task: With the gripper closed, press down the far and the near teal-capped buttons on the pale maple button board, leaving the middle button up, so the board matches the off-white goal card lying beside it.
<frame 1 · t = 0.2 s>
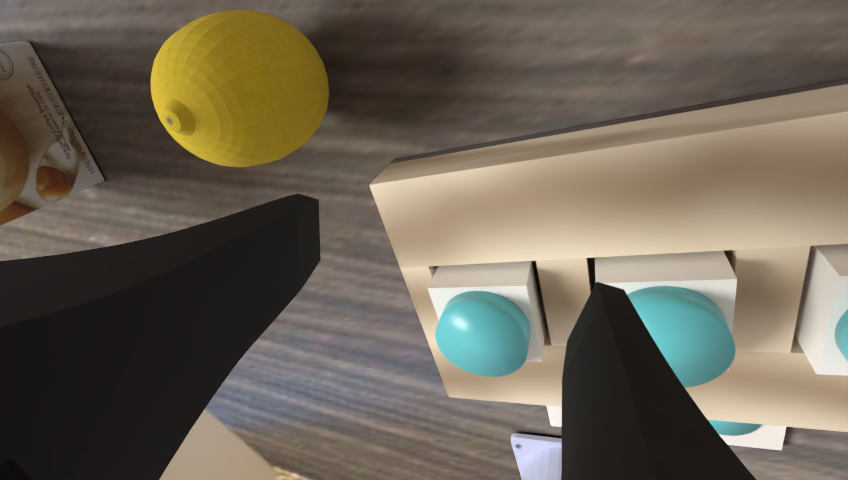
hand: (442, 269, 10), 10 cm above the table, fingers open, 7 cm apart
coffee box: (45, 116, 27), on the table
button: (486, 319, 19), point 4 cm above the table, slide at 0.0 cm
button board: (648, 262, 19), on the table
lemon: (307, 69, 19), on the table
goal card: (652, 403, 24), on the table
button mid: (661, 319, 16), point 4 cm above the table, slide at 0.0 cm
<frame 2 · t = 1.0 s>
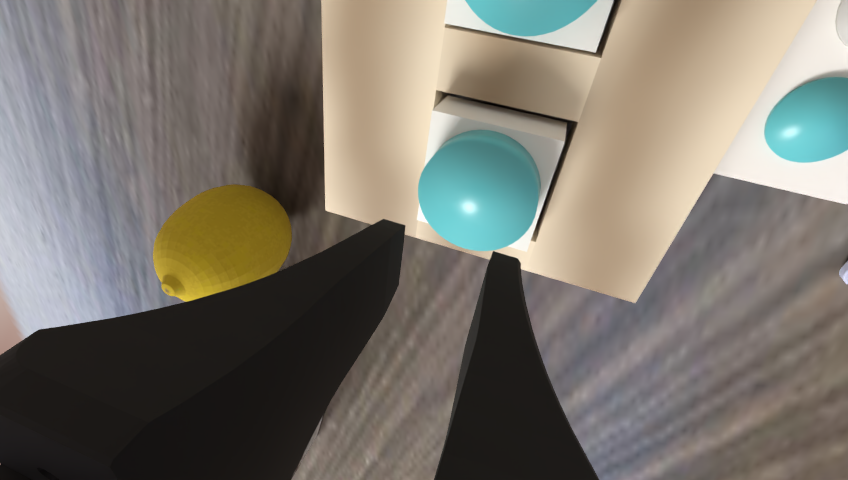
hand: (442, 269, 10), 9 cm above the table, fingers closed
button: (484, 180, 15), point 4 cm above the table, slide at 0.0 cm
lemon: (278, 205, 24), on the table
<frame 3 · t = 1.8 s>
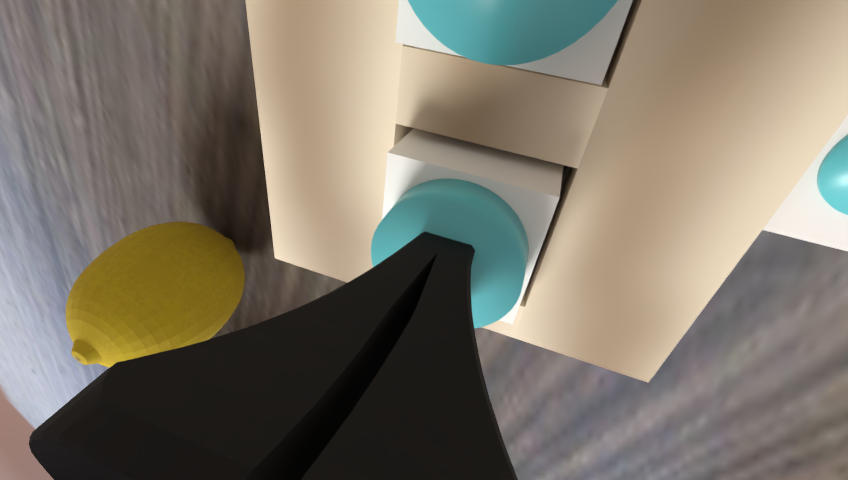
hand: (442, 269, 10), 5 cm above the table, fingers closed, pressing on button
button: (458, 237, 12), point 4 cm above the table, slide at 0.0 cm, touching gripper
lemon: (233, 240, 21), on the table
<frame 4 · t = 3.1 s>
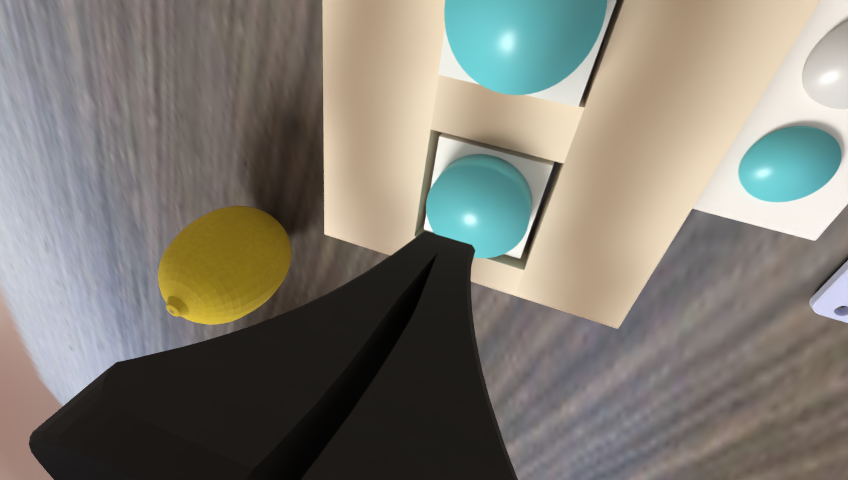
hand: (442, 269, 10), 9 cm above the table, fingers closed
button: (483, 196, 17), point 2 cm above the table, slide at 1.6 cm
lemon: (278, 223, 25), on the table
button mid: (527, 8, 12), point 4 cm above the table, slide at 0.0 cm
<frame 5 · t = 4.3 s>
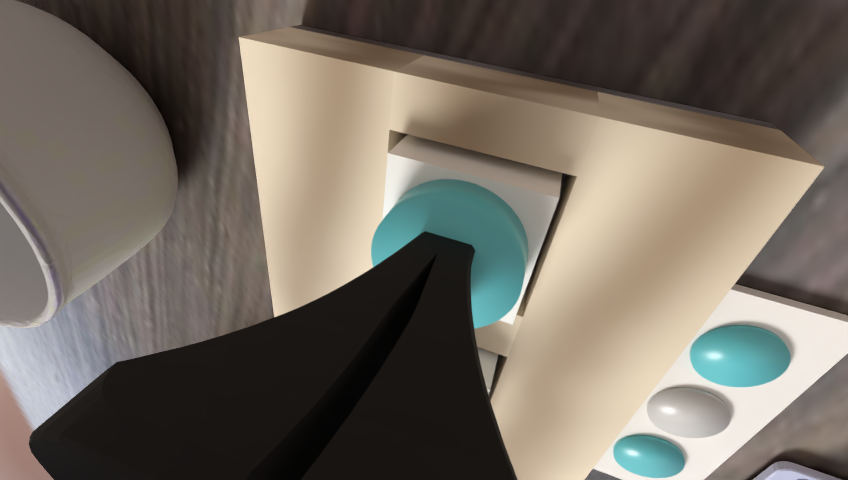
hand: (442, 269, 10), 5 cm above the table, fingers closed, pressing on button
button board: (449, 323, 18), on the table
teacup: (112, 143, 20), on the table
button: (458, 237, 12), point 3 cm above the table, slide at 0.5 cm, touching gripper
goal card: (684, 402, 17), on the table
button mid: (422, 395, 15), point 4 cm above the table, slide at 0.0 cm
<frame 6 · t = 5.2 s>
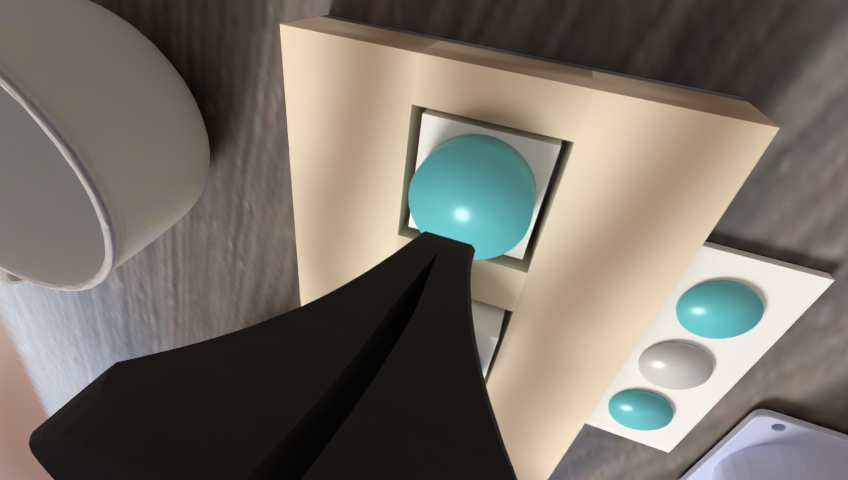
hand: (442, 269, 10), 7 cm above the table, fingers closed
button board: (458, 290, 20), on the table
teacup: (145, 127, 21), on the table
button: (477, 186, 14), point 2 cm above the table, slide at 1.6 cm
goal card: (672, 357, 18), on the table
button mid: (436, 349, 17), point 4 cm above the table, slide at 0.0 cm
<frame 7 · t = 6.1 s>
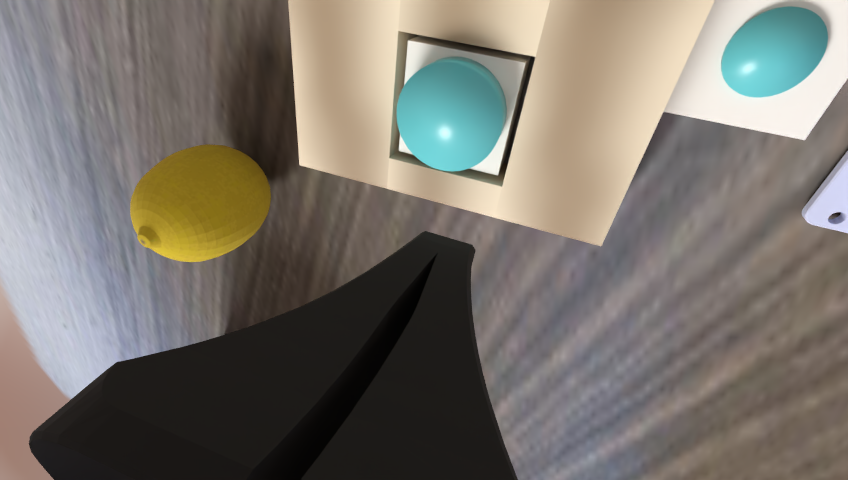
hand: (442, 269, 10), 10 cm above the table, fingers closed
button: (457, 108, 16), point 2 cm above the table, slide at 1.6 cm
lemon: (258, 170, 25), on the table
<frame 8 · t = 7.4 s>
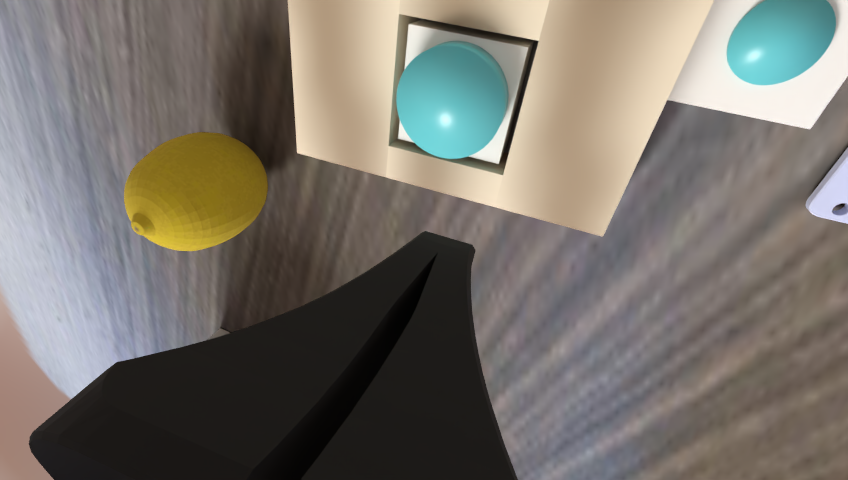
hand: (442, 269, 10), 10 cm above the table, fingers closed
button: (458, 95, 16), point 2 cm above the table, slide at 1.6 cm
lemon: (256, 160, 24), on the table
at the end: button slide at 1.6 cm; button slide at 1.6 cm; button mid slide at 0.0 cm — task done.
